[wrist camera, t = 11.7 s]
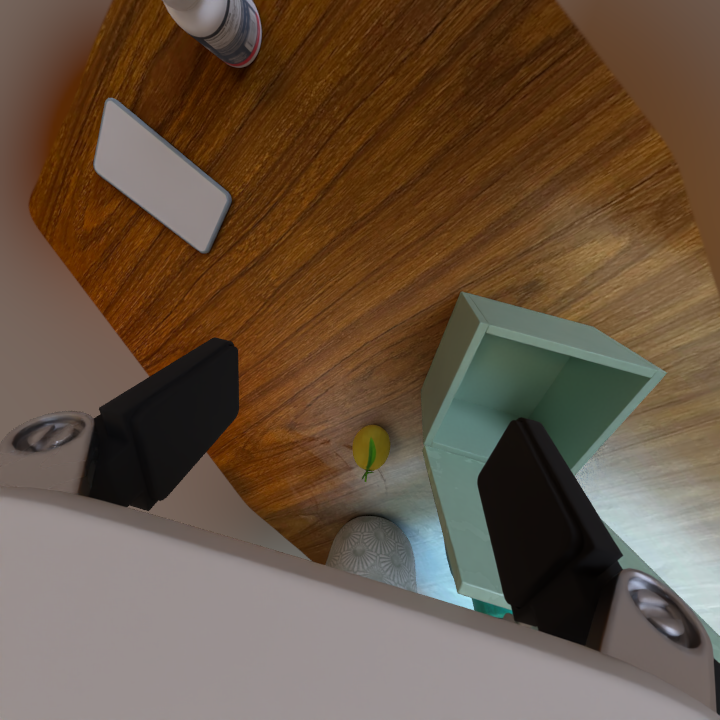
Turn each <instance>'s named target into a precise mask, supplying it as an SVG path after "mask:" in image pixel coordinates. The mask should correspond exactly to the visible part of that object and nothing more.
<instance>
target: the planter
mask: <svg viewBox="0 0 720 720" xmlns="http://www.w3.org/2000/svg"><path fill="white" fill-rule="evenodd" d="M326 566H329V567H332V568H336V569H339V570H342V571H346V572H349V573H352V574H356V575H359V576H362V577H365V578H369V579H372V580H375V581H379V582H382V583H385V584H389V585H392V586H395V587H399V588H402V589H405V590H408V591H412V592H415V593H417V584H416V570H415V560H414V554H413V551H412V547H411V545H410V542H409V540H408V538H407V537H406V535H405V534H404V532H403V531H402V530H401V529H400V528H399V527H398V526H397V525H395V524H394V523H392V522H390V521H388V520H386V519H384V518H380V517H376V516H362V517H357V518H355V519H353V520H351V521H349V522H348V523H346V524H345V525H344V526H343V527H342V528H341V529H340V531H339V532H338V534H337V535H336V537H335V539H334V541H333V544H332V546H331V549H330V552H329V555H328V559H327V562H326Z"/></svg>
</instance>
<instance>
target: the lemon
mask: <svg viewBox="0 0 720 720" xmlns="http://www.w3.org/2000/svg"><path fill="white" fill-rule="evenodd" d="M389 452H390V439H389V435H388V433H387V432H386V431H385V430H384V429H383V428H381V427H380V426H377V425H368V426H365V427H363V428H362V429H361V430H360V431H359V432H358V433H357V434H356V436H355V438H354V440H353V456H354V459H355V462H356V463H357V465H358V466H359V467H361V468H362V469H364V470H366V473H365V474H364V475H363V477H362V479H363V478H364V476H365V482H366V480H367V474H369V473H374V472H368V471H374V470H376V469H378V468H380V467H381V466H382V465H383V464H384V463H385V461H386V460H387V458H388V456H389Z"/></svg>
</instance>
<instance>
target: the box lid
mask: <svg viewBox="0 0 720 720" xmlns="http://www.w3.org/2000/svg"><path fill="white" fill-rule="evenodd" d="M422 452H423V456H424V460H425V464H426V468H427V472H428V476H429V480H430V484H431V488H432V492H433V496H434V500H435V504H436V508H437V512H438V516H439V520H440V524H441V528H442V532H443V536H444V540H445V544H446V548H447V553H448V557H449V561H450V565H451V569H452V573H453V577H454V581H455V585H456V589H457V592H458V594H461V595H464V596H468V597H471V598H474V599H477V600H480V601H483V602H487V603H490V604H493V605H496V606H499V607H503V608H506V609H509V610H512V609H511V605H510V604H508V603H507V602H506V600H505V598H504V595H503V591H502V587H501V583H500V578H499V574H498V570H497V566H496V562H495V557H494V553H493V549H492V545H491V541H490V536H489V532H488V528H487V524H486V520H485V515H484V511H483V507H482V503H481V499H480V494H479V490H478V486H477V479H478V475H479V473H480V472H481V470H482V468H483V467H484V465H485V463H484V462H481V461H477V460H474V459H470V458H467V457H464V456H460V455H457V454H453V453H450V452H447V451H443V450H440V449H436V448H433V447H429V446H426V445H424V448H423V450H422ZM602 522H603V521H602ZM603 523H604V525H605V527H606V528H607V530H608V532H609V533H610V535H611V536H612V538H613V540H614V541H615V543H616V544H617V546H618V548H619V549H620V551H621V553H622V554H623V557H621V558H620V559H619V560H618V562H619V564H620V566H621V567H622V569H627V568H632V569H637V570H641V571H643V572H645V573H647V574H649V575H651V576H653V577H654V578H656V579H657V580H659V581H661V582H662V583H664V584H665V585H666V586H667V587H669V586H668V585H667V584H666V583H665V582H664V581H663V580H662V579H661V578H660V577H659V576H658V575H657V574H656V573H655V572H654V571H653V570H652V569H651V568H650V567H649V566H648V565H647V564H646V563H645V562H644V561H643V560H642V559H641V558H640V557H639V556H638V555H637V554H636V553H635V552H634V551H633V550H632V549H631V548H630V547H629V546H628V545H627V544H626V543H625V542H624V541H623V540H622V539H621V538H620V537H619V536H618V535H617V534H616V533H615V532H614V531H613V530H612V529H611V528H610V527H609V526H608V525H607V524H606V523H605V522H603ZM669 588H670V587H669ZM670 589H671V588H670ZM671 590H672V589H671ZM672 591H673V590H672ZM673 592H674V591H673ZM674 593H675V592H674ZM680 598H681V597H680ZM681 599H682V598H681ZM682 600H683V599H682ZM683 601H684V600H683ZM684 602H685V601H684ZM685 603H686V602H685ZM686 604H687V603H686ZM687 605H688V604H687ZM688 606H689V605H688ZM689 607H690V606H689ZM690 608H691V607H690ZM691 610H692V611H693V612H694V614H695V615H696V616H697V617H698V619H699V620H700V621H701V623H702V624H703V626H704V628H705V630H706V632H707V633H708V635H709V637H710V640H711V644H712V648H713V658H714V659H716V660H717V661H718V662H719V663H720V636H719V635H718V634H717V633H716V632H715V631H714V630H713V629H712V628H711V627H710V626H709V625H708V624H707V623H706V622H705V621H704V620H703V619H702V618H701V617H700V616H699V615H698V614H697V613H696V612H695V611H694V610H693V609H692V608H691ZM503 620H506V621H510V622H513V623H516V624H519V625H522V626H525V627H528V628H531V629H534V630H537V631H538V627H537V626H536V627H534V626H531V625H527V624H524V623H520V622H517V621H514V617H513V614H511V613H506V614H505V615H504V617H503Z"/></svg>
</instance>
